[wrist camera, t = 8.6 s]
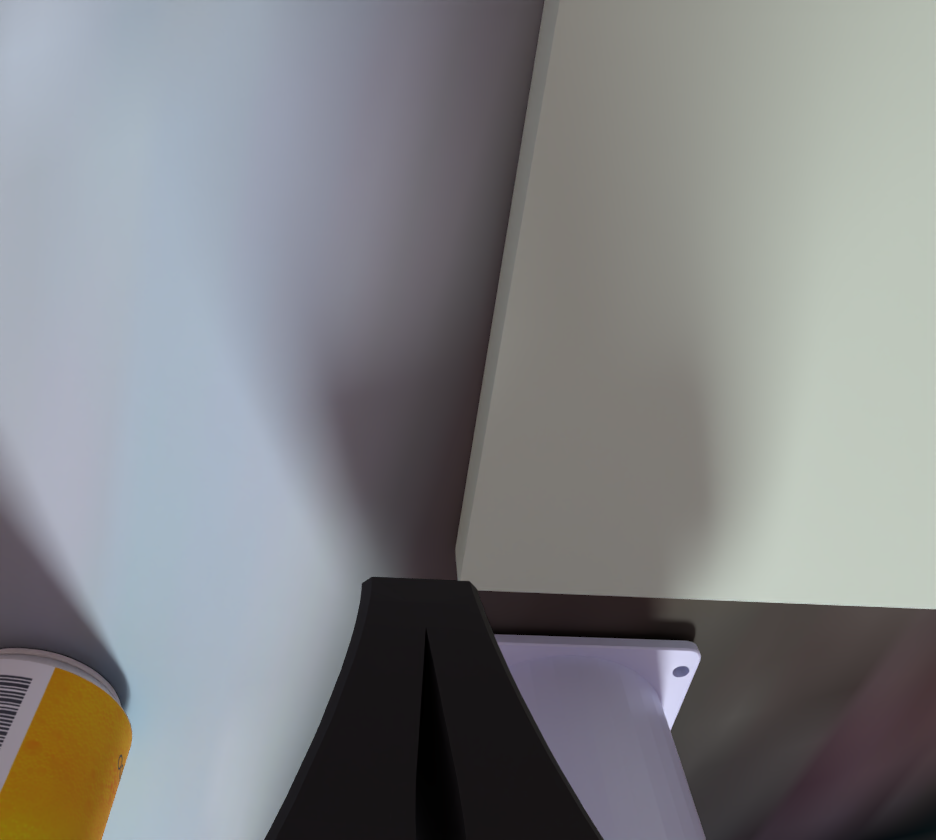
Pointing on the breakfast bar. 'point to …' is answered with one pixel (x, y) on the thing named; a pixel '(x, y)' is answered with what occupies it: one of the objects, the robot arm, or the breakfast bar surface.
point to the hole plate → (716, 310)
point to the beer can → (57, 747)
